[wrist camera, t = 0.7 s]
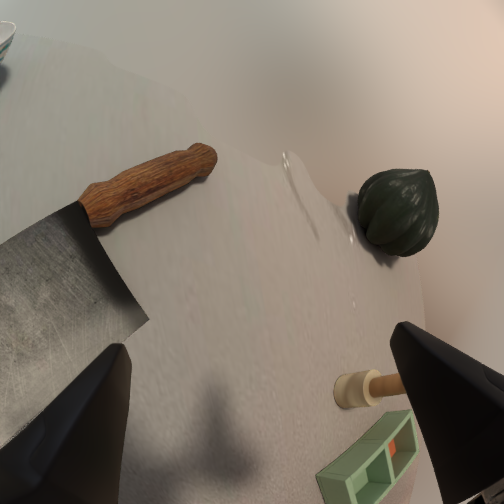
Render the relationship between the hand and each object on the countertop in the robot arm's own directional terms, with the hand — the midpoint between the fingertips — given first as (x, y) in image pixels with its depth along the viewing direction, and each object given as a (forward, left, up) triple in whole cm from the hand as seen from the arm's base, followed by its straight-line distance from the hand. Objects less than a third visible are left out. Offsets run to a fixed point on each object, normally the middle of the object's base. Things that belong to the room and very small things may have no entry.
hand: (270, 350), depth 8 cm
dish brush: (-3, -20, -14) cm, 24 cm away
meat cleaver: (+6, +7, -14) cm, 17 cm away
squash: (+22, -33, -14) cm, 42 cm away
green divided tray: (-13, -23, -14) cm, 30 cm away
